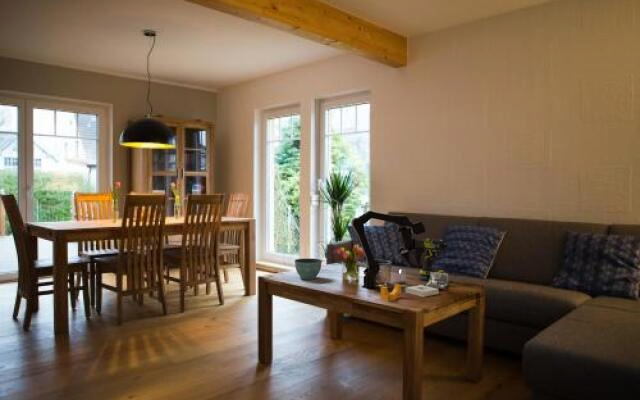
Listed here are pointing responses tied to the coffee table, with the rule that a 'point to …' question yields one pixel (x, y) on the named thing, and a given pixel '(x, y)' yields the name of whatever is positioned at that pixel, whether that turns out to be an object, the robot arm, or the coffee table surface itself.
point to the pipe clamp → (393, 295)
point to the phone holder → (438, 281)
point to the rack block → (422, 290)
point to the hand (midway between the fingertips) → (414, 264)
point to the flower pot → (308, 268)
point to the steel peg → (402, 276)
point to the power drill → (431, 256)
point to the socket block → (403, 287)
